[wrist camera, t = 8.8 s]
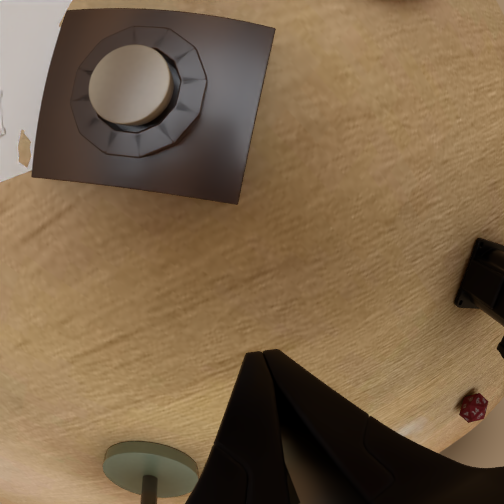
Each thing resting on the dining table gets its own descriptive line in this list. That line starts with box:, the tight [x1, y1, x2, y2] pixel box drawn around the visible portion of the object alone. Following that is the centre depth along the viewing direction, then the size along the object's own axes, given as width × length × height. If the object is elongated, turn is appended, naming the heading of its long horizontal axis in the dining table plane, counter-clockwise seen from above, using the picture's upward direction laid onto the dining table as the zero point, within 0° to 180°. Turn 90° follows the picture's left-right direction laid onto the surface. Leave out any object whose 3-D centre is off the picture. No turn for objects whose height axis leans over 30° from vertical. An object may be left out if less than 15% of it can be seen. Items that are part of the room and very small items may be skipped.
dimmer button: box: [89, 45, 174, 126], centre depth 12 cm, size 4×4×2 cm
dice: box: [459, 393, 488, 423], centre depth 29 cm, size 4×4×4 cm
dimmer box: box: [32, 8, 276, 205], centre depth 14 cm, size 12×10×4 cm
